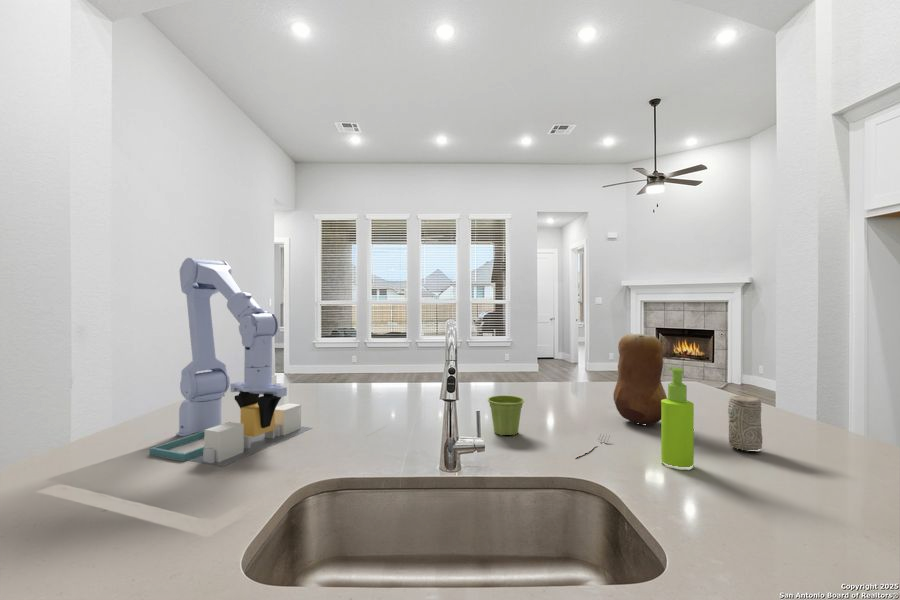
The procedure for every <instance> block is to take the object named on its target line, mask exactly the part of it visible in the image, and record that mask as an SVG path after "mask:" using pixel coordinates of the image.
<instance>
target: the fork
mask: <svg viewBox="0 0 900 600" xmlns="http://www.w3.org/2000/svg"><path fill="white" fill-rule="evenodd" d="M601 435H602V437H601ZM604 436H605V437H604ZM606 439H607V440H606ZM597 440H599V442H600V441H601V442H603V441H604V442H605V443H606V442H607V443H608V442H609V440H610V435H609V436H608V438H607V434H606V435H605V434H602V433H600V434H599V436H598V438H597Z"/></svg>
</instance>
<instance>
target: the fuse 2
mask: <svg viewBox="0 0 900 600" xmlns="http://www.w3.org/2000/svg"><path fill="white" fill-rule="evenodd" d="M275 424H276V425H280V435H286V434H289V433H291V432H294V431H296V430H299V429H301V426H302V405H301V404H298V403H286V404H282V405H278V406H276V408H275Z"/></svg>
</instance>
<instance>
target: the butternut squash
mask: <svg viewBox="0 0 900 600" xmlns="http://www.w3.org/2000/svg"><path fill="white" fill-rule="evenodd" d="M617 347H618V354H619V356H618V363H617V371H618V373H617V381H616V384H615V386H614V387H615V388H614V390H613V401H614V404H615V407H616V410H617V412H618V413H619V415H620V416H621V417H622V418H623V419H625V420H628V421H629V422H630V421H631V422H633V423H634V422H635V423H634V424H636V423H639V424H646V425H648V426H649V425H654V424H655V425H656V424H657V423H659V422H660V421H661V400H663V399H668V396H667V395H666V394H667V393H666V391H665V389H664V386H663V384H662V383H663V382H662V381H661V378H662V377H661V376H662V373H663V367H664V356H663V346H662V342H661V340H660V339H659V338H657V337H656V336H654V335H649V334H641V333H633V332H632V333H630V332H629V333H626V334H624V335H622V337H621V338H620V340H619V342H618V346H617Z"/></svg>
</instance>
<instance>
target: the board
mask: <svg viewBox="0 0 900 600" xmlns="http://www.w3.org/2000/svg"><path fill="white" fill-rule="evenodd" d="M312 429H313V427H309V426H302V425H301V429H299V430H296V431H294V432H291V433H289V434H286V435H280V425H276V424H275V429H274V430H271V431H269V432H266V433H264V434H261V435H258V436H256V437H251V436H246V435H244V437H243V453H240V454H238V455H235V456H233V457H231V458H228V459H226V460H223V461H221V462H215V450H214V449H208V448H205V449H203V454H202V455H200V456H197V457H194V458H192V459H189V460H187V461H190V462H193V463H194V462H195V463H198V464H199V463H200V464H204V465H209V466H215V467H221V468H222V467H225V466H228V465H230V464H233V463H235V462H237V461H239V460H240V461H241V460H242V459H244V458H247V457H248V456H252V455H253V454H255V453H256V454H257V453H258V452H260V451H263V450H265V449H268V448H269V447H272V446H275V445H277V444H279V443H281V442H284V441H287V440H289V439H292V438H294V437H295V436H297V435H301V434H302V433H305V432H307V431H309V430H312Z"/></svg>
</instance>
